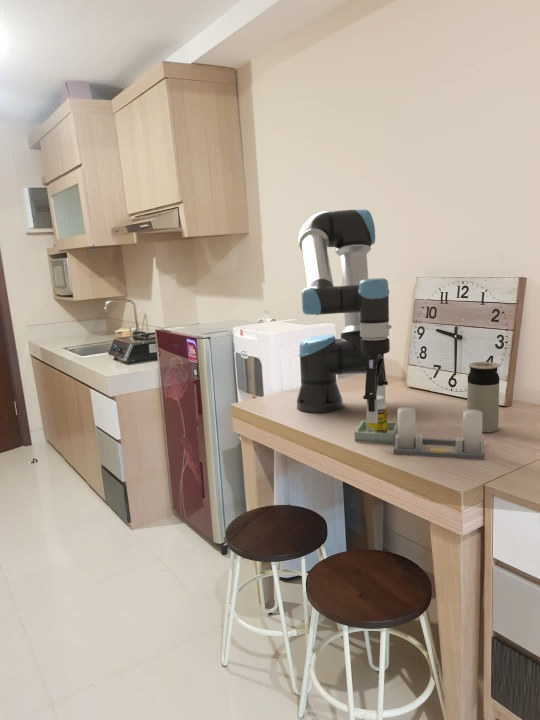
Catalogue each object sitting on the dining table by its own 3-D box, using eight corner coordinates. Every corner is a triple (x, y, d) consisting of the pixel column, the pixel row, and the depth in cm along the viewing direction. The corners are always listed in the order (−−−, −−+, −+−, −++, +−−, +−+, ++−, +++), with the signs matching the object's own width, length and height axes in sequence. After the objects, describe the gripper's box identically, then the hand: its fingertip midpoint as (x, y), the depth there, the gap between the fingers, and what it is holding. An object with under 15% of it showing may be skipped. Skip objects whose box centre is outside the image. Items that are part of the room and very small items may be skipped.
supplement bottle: (376, 438, 145) (376, 401, 143) (362, 433, 149) (361, 397, 148) (391, 433, 148) (391, 397, 146) (377, 428, 152) (376, 393, 150)
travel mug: (479, 435, 144) (480, 368, 141) (461, 426, 152) (461, 363, 149) (504, 430, 147) (506, 365, 143) (485, 422, 154) (486, 360, 151)
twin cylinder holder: (393, 453, 135) (392, 415, 133) (398, 440, 144) (397, 403, 142) (484, 460, 127) (485, 419, 126) (483, 445, 137) (484, 406, 135)
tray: (354, 441, 146) (354, 432, 145) (362, 429, 155) (361, 420, 154) (393, 443, 142) (393, 434, 142) (398, 431, 151) (398, 422, 151)
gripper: (382, 346, 131) (383, 430, 135) (395, 330, 154) (396, 403, 158) (351, 346, 133) (353, 428, 137) (368, 331, 156) (370, 402, 160)
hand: (376, 415), depth 147 cm, fingers open, 13 cm apart
